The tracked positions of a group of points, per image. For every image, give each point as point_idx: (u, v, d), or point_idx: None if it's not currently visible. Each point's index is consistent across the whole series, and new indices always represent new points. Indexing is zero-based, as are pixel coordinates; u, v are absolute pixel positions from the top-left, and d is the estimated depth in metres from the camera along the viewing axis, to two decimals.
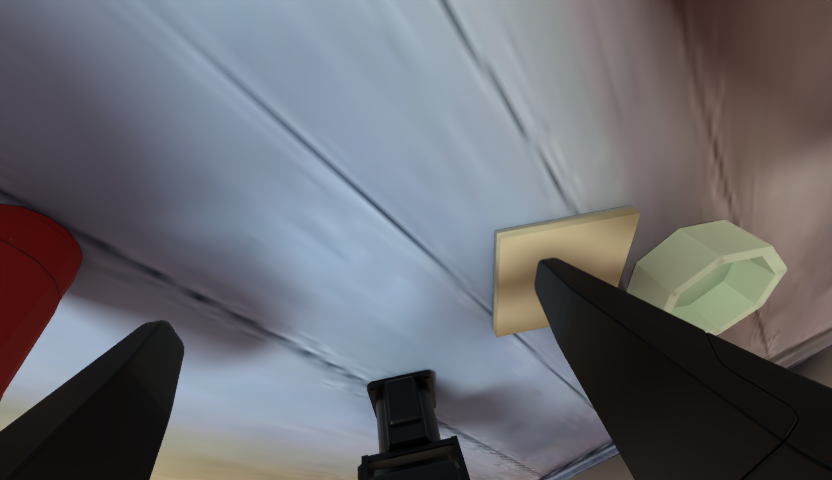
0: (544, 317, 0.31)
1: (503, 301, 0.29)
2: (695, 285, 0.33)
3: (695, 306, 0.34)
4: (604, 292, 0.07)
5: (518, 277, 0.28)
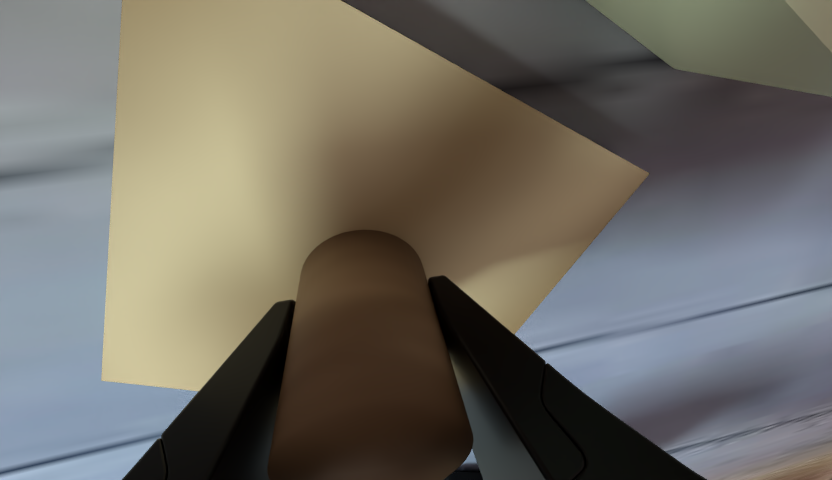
0: None
1: None
2: None
3: None
4: (469, 316, 0.07)
5: None
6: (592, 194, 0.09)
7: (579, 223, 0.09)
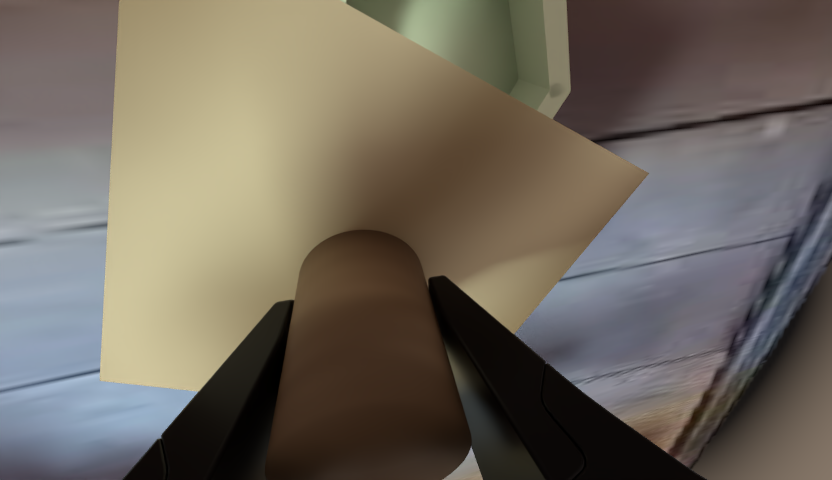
0: None
1: None
2: (468, 60, 0.16)
3: (521, 75, 0.17)
4: (469, 316, 0.07)
5: None
6: (591, 194, 0.09)
7: (578, 223, 0.09)
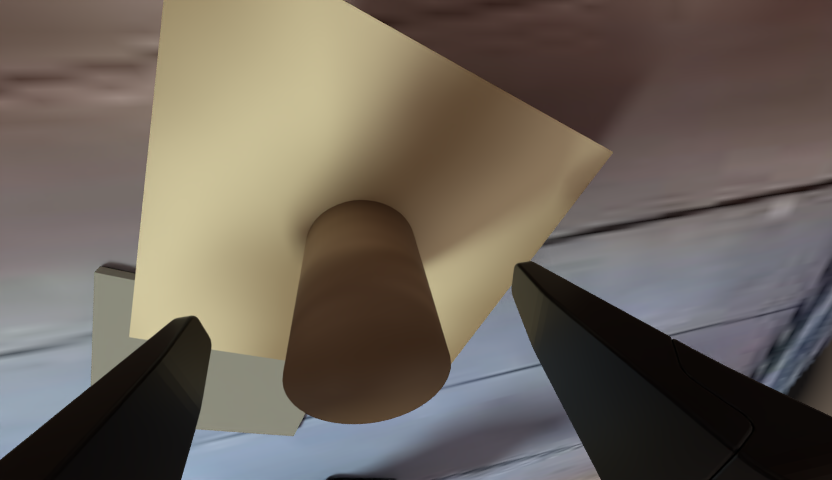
0: (461, 302, 0.12)
1: None
2: None
3: None
4: (575, 297, 0.07)
5: (280, 326, 0.11)
6: (563, 170, 0.10)
7: (552, 197, 0.10)
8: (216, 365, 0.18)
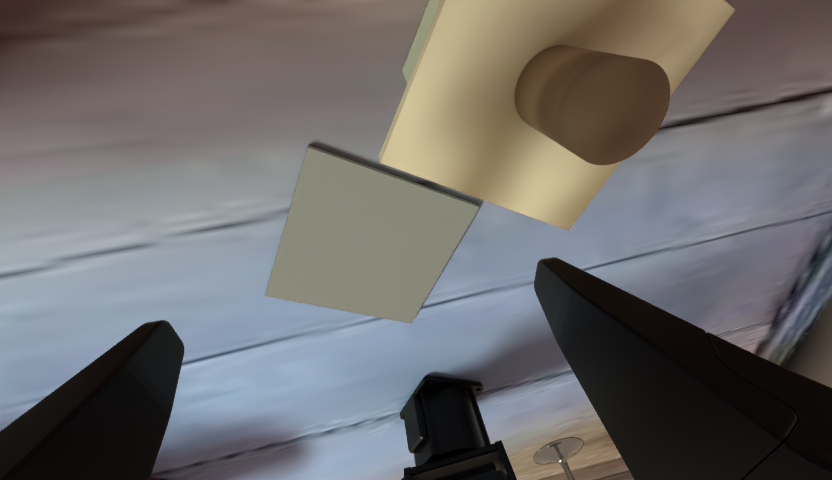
0: None
1: (507, 198, 0.17)
2: None
3: None
4: (604, 292, 0.07)
5: (478, 160, 0.16)
6: (698, 25, 0.14)
7: (687, 49, 0.14)
8: (370, 243, 0.22)
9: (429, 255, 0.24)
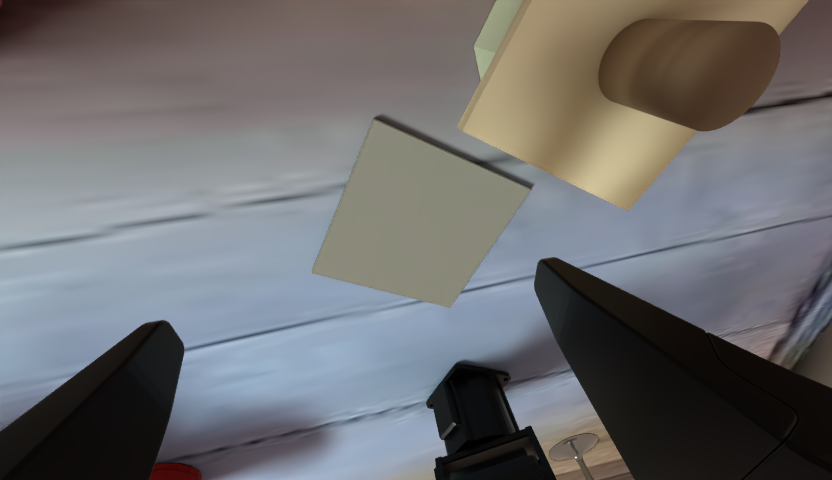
0: (675, 126, 0.17)
1: (576, 174, 0.17)
2: None
3: None
4: (604, 292, 0.07)
5: (555, 133, 0.16)
6: (779, 5, 0.14)
7: None
8: (421, 222, 0.22)
9: (476, 237, 0.24)
